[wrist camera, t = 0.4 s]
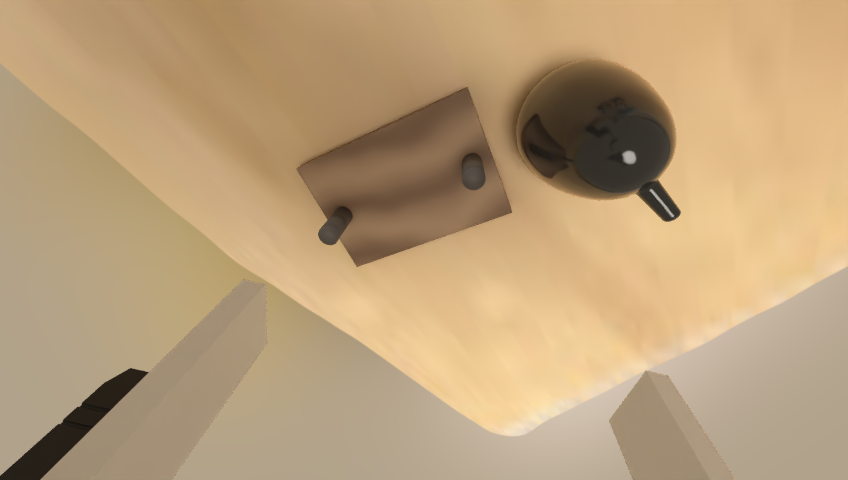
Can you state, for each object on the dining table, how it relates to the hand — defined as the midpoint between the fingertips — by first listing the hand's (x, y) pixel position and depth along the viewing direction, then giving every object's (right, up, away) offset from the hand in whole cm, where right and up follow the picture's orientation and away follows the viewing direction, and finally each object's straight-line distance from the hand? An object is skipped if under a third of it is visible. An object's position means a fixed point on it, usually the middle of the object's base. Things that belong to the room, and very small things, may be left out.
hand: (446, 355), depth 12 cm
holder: (-3, +10, +25) cm, 27 cm away
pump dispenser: (+13, +15, +21) cm, 29 cm away
